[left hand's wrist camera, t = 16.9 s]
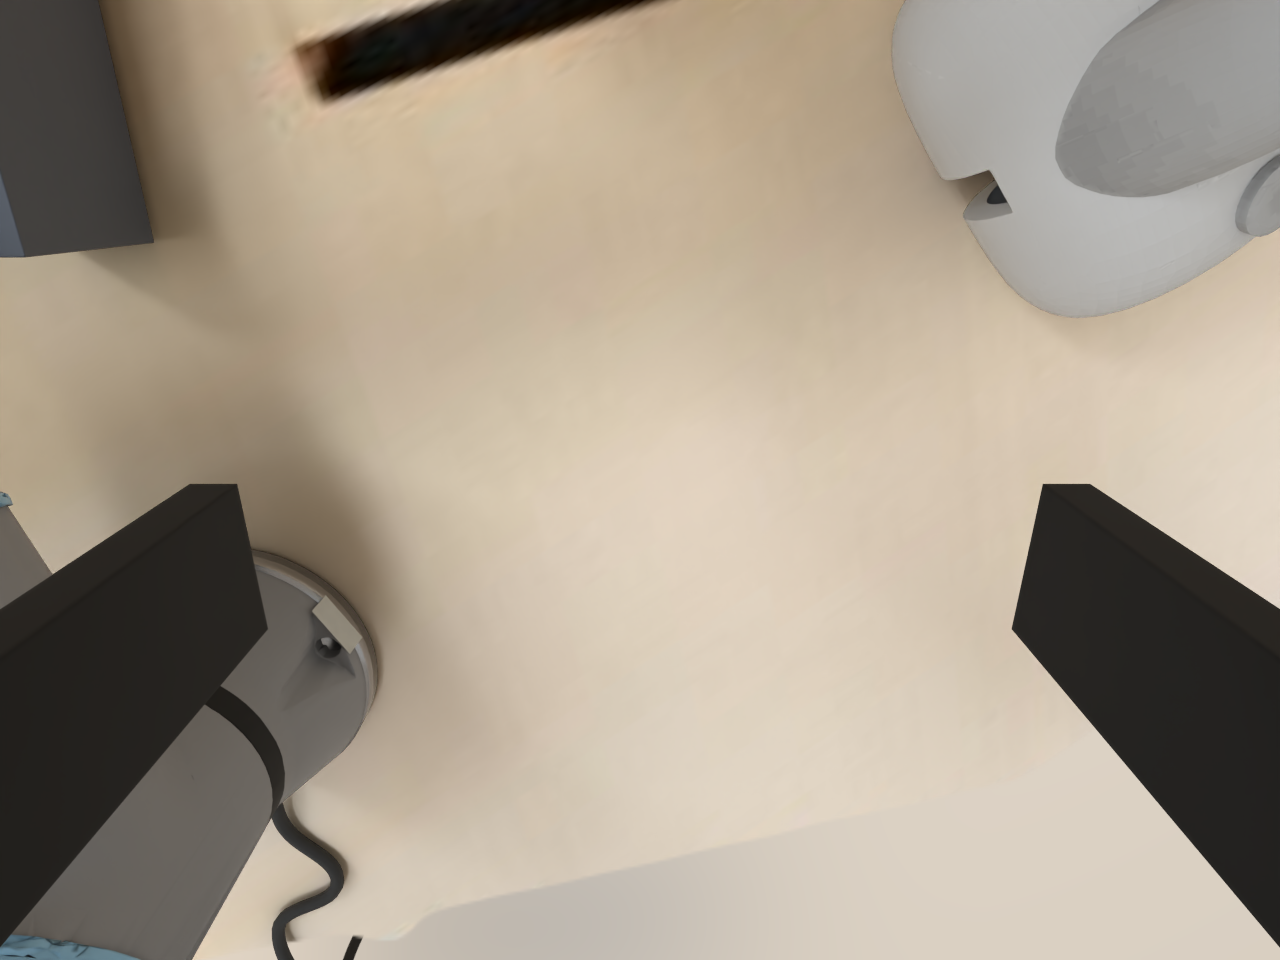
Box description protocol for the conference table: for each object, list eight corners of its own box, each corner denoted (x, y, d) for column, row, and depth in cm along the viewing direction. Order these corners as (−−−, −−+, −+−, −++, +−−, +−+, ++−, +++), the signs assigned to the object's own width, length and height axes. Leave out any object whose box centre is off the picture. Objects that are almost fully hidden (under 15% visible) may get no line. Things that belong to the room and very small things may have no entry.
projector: (1277, 323, 37) (1643, 402, 24) (826, 286, 37) (936, 345, 23) (1498, -242, 29) (2251, -618, 16) (924, -303, 28) (1185, -751, 15)
